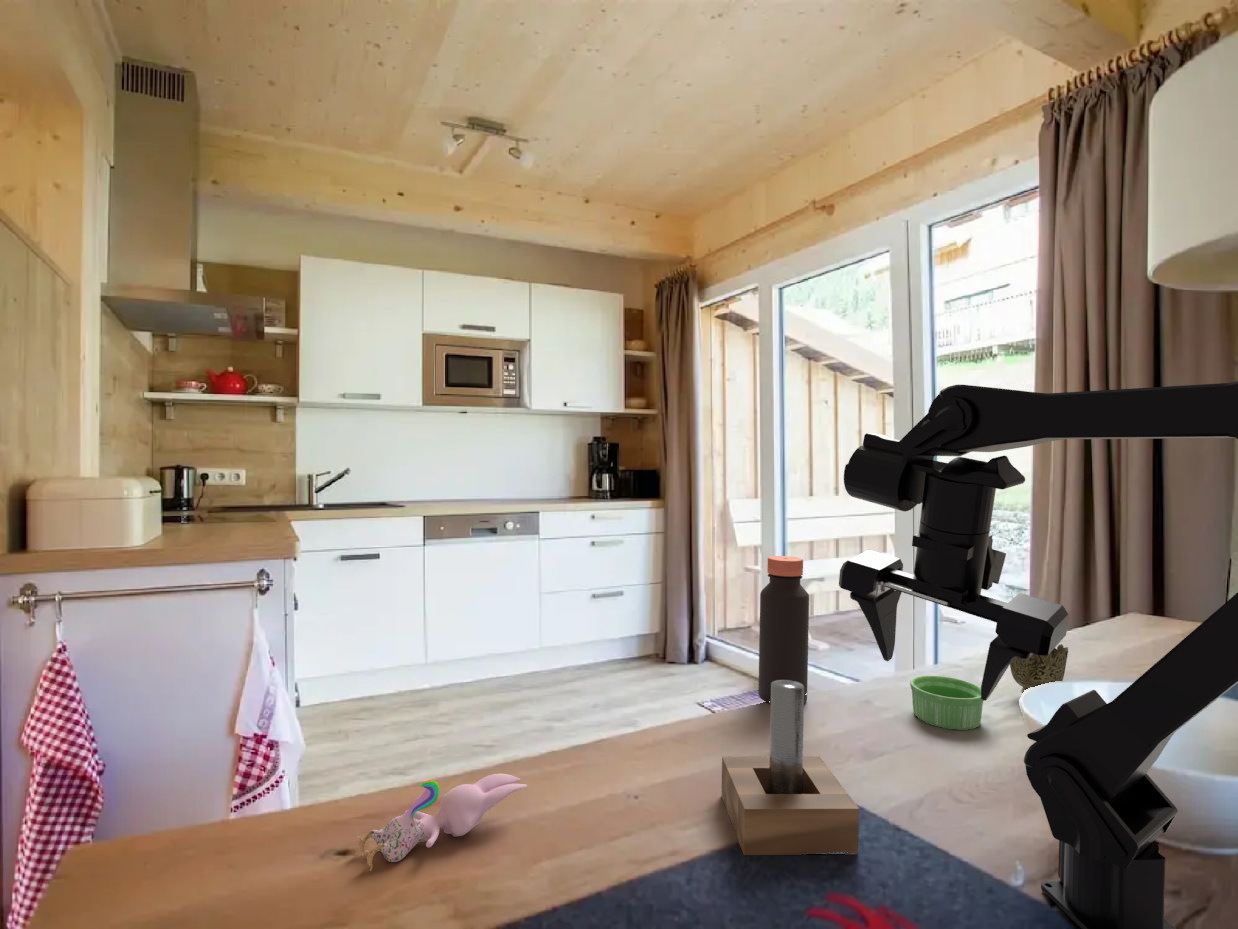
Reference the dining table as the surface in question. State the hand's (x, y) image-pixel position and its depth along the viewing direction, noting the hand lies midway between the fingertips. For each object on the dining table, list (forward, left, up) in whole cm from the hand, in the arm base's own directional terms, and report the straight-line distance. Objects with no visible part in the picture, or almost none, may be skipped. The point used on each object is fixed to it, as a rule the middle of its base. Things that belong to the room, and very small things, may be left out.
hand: (934, 678), depth 64 cm
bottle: (+31, +6, -13) cm, 34 cm away
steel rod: (-1, +15, -13) cm, 20 cm away
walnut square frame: (-1, +15, -13) cm, 20 cm away
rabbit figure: (-3, +46, -14) cm, 48 cm away
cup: (+31, -31, -13) cm, 46 cm away
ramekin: (+24, -14, -14) cm, 31 cm away
